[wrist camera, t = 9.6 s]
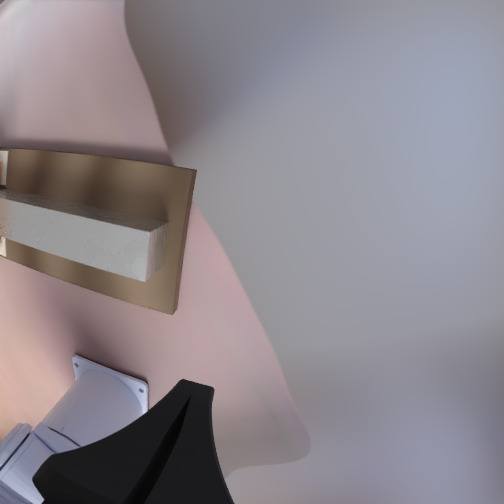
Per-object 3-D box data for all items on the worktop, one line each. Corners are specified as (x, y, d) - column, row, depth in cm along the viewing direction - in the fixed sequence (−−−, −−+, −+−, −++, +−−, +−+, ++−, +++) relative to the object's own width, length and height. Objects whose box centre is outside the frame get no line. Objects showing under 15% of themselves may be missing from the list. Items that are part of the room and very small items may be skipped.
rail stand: (196, 169, 19) (175, 171, 15) (176, 309, 22) (156, 336, 18) (-27, 146, 21) (-55, 149, 17) (-29, 238, 23) (-54, 247, 20)
